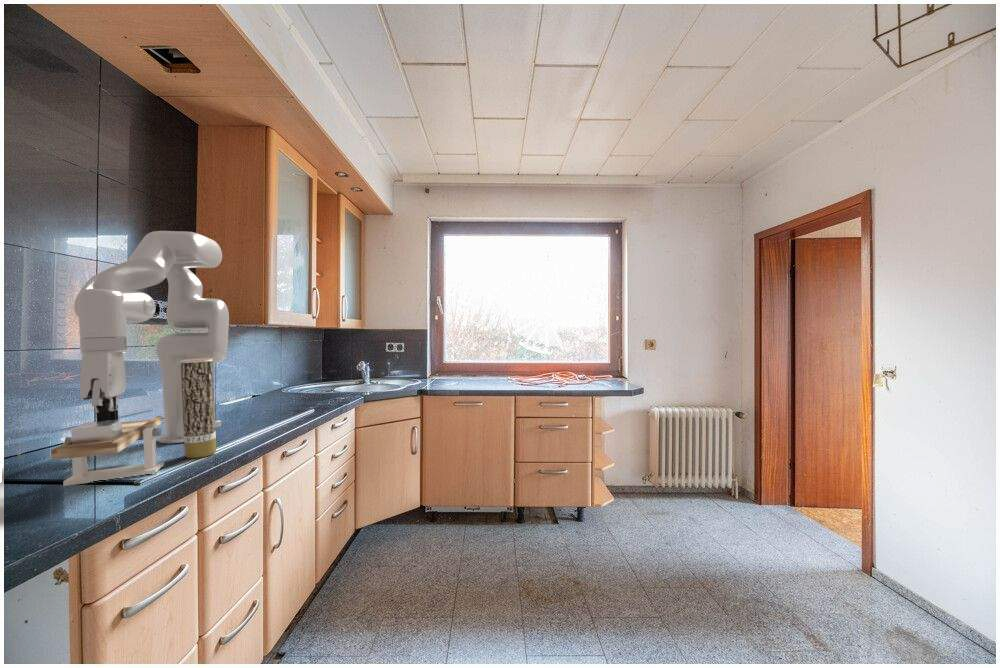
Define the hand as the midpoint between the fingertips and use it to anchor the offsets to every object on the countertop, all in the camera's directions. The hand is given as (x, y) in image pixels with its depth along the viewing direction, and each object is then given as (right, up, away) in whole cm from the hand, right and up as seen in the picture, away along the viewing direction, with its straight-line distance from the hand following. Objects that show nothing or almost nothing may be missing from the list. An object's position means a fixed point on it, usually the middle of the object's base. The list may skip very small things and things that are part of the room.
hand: (108, 429), depth 95 cm
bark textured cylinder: (+8, -11, +18) cm, 22 cm away
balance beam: (-1, -6, +3) cm, 7 cm away
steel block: (+2, -2, -4) cm, 5 cm away
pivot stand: (-1, -11, +3) cm, 12 cm away
